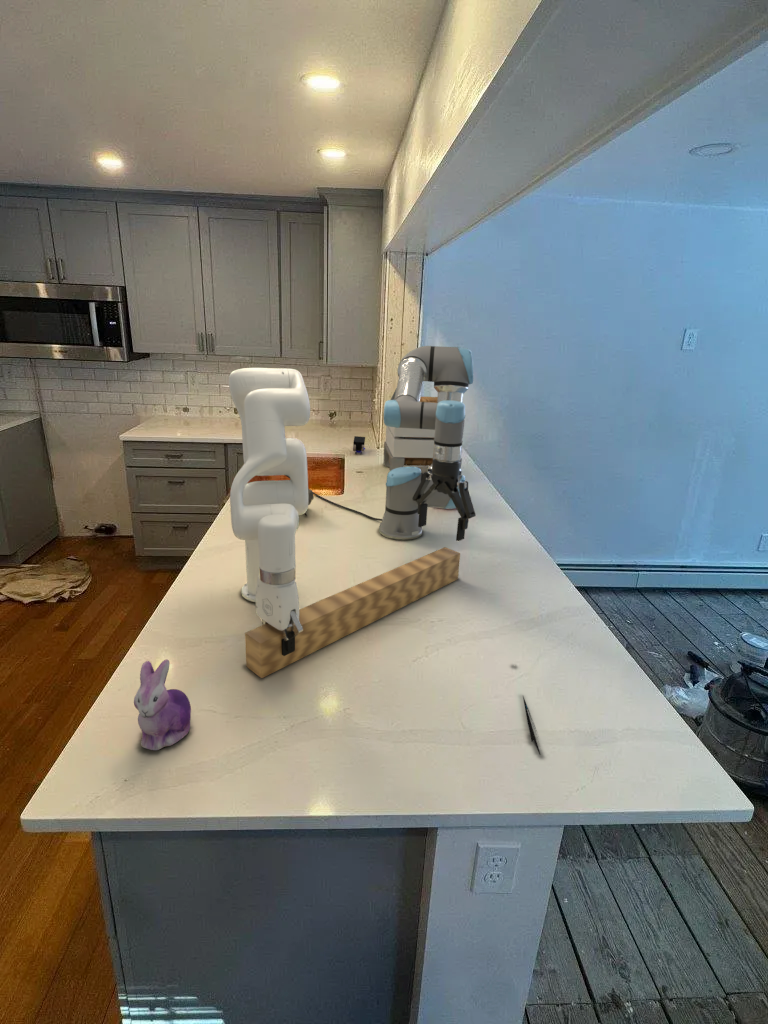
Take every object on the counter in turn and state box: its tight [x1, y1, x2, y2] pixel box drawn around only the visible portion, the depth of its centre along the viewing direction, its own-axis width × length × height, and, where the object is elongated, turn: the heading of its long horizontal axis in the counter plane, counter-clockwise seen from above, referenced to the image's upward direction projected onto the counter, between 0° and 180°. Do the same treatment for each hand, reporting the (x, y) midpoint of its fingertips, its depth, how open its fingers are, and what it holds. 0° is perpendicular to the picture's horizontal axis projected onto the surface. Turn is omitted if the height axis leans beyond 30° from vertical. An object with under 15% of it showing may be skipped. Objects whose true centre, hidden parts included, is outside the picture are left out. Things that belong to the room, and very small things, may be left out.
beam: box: [244, 546, 461, 679], centre depth 144 cm, size 70×6×9 cm, turn 137°
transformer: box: [383, 387, 465, 472], centre depth 268 cm, size 34×33×41 cm
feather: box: [513, 664, 541, 755], centre depth 114 cm, size 2×28×2 cm
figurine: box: [133, 658, 192, 751], centre depth 101 cm, size 9×10×15 cm
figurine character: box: [352, 435, 366, 455], centre depth 308 cm, size 7×8×15 cm
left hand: (279, 646), depth 125 cm, fingers closed on beam, 5 cm apart
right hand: (440, 532), depth 160 cm, fingers open, 13 cm apart
